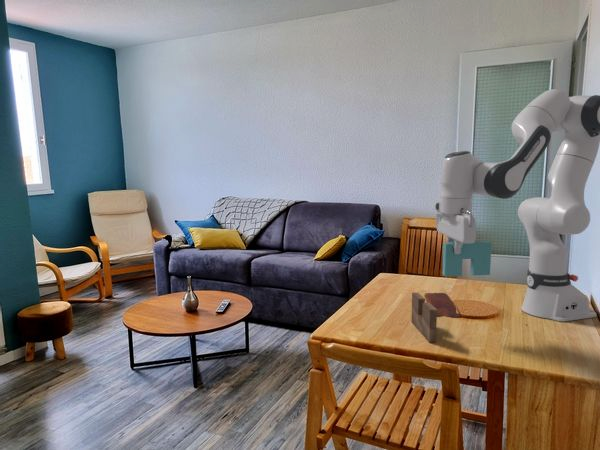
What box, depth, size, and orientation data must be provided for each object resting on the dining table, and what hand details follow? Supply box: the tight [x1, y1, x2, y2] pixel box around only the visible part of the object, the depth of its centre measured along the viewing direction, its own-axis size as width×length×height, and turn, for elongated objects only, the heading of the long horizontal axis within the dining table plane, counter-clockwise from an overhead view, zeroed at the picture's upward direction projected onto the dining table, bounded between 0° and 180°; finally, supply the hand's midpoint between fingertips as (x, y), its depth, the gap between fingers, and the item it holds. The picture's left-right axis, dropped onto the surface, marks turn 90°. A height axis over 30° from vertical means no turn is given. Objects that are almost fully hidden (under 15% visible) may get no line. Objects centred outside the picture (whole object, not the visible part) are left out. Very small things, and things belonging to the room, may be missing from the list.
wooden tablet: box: [424, 292, 461, 319], centre depth 157 cm, size 27×10×2 cm, turn 170°
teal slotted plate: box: [441, 240, 493, 277], centre depth 130 cm, size 14×2×10 cm, turn 94°
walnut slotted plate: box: [410, 292, 438, 344], centre depth 132 cm, size 2×16×10 cm, turn 4°
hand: (454, 252), depth 129 cm, fingers closed on teal slotted plate, 2 cm apart
